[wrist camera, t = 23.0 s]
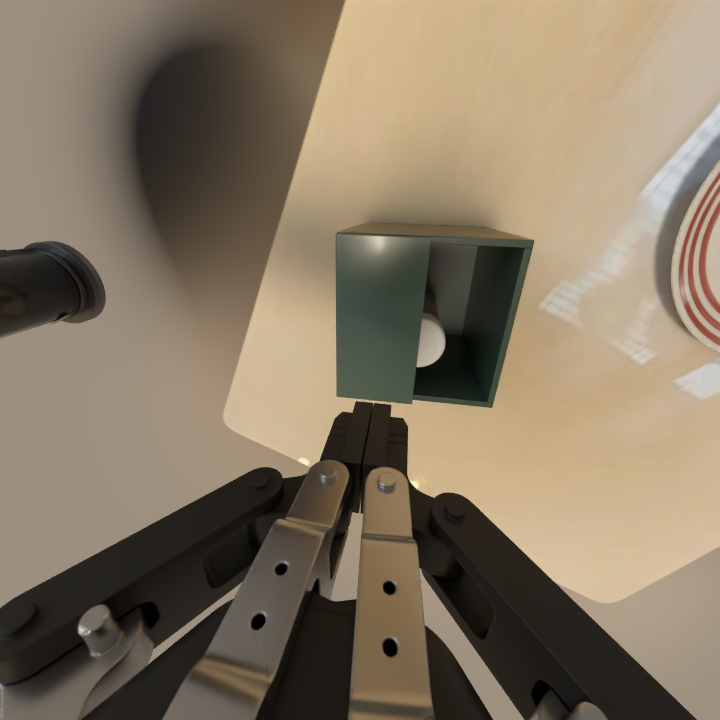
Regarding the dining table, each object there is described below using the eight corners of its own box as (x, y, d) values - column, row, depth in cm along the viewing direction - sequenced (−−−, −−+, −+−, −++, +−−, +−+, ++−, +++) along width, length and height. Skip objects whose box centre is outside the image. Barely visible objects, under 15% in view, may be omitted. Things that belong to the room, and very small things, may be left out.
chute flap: (337, 394, 27) (336, 396, 27) (336, 233, 22) (335, 233, 21) (411, 401, 26) (411, 404, 26) (431, 237, 21) (431, 237, 20)
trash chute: (362, 330, 41) (337, 392, 28) (365, 222, 36) (336, 232, 22) (464, 338, 40) (492, 408, 26) (485, 226, 34) (534, 240, 20)
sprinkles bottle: (391, 292, 38) (381, 331, 26) (427, 276, 37) (434, 309, 25) (406, 325, 40) (403, 376, 28) (441, 311, 38) (454, 358, 26)
